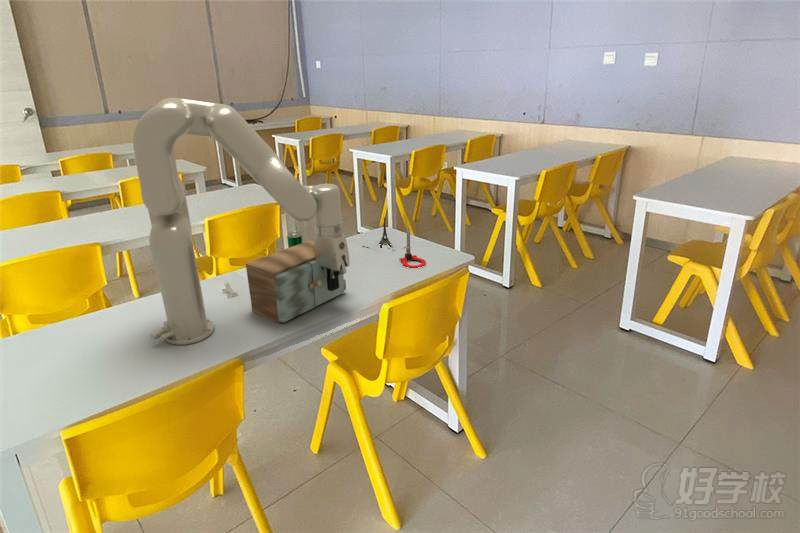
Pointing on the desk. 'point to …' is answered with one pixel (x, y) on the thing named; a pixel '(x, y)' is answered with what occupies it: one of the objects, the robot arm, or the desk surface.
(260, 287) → the cabinet
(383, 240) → the eiffel tower figurine
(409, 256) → the tow hook
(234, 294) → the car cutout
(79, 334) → the desk surface
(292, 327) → the desk surface
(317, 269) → the cabinet door
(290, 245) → the soda can
